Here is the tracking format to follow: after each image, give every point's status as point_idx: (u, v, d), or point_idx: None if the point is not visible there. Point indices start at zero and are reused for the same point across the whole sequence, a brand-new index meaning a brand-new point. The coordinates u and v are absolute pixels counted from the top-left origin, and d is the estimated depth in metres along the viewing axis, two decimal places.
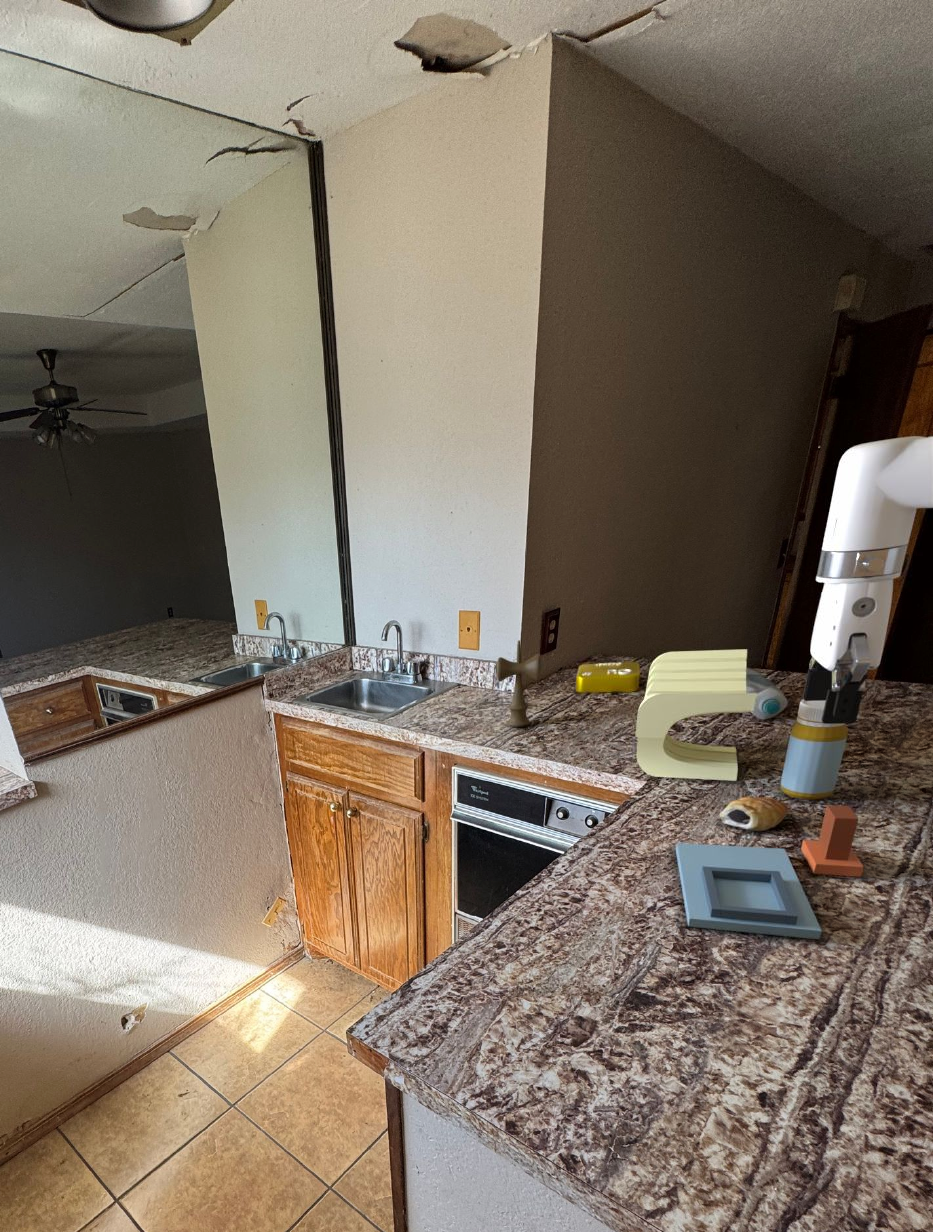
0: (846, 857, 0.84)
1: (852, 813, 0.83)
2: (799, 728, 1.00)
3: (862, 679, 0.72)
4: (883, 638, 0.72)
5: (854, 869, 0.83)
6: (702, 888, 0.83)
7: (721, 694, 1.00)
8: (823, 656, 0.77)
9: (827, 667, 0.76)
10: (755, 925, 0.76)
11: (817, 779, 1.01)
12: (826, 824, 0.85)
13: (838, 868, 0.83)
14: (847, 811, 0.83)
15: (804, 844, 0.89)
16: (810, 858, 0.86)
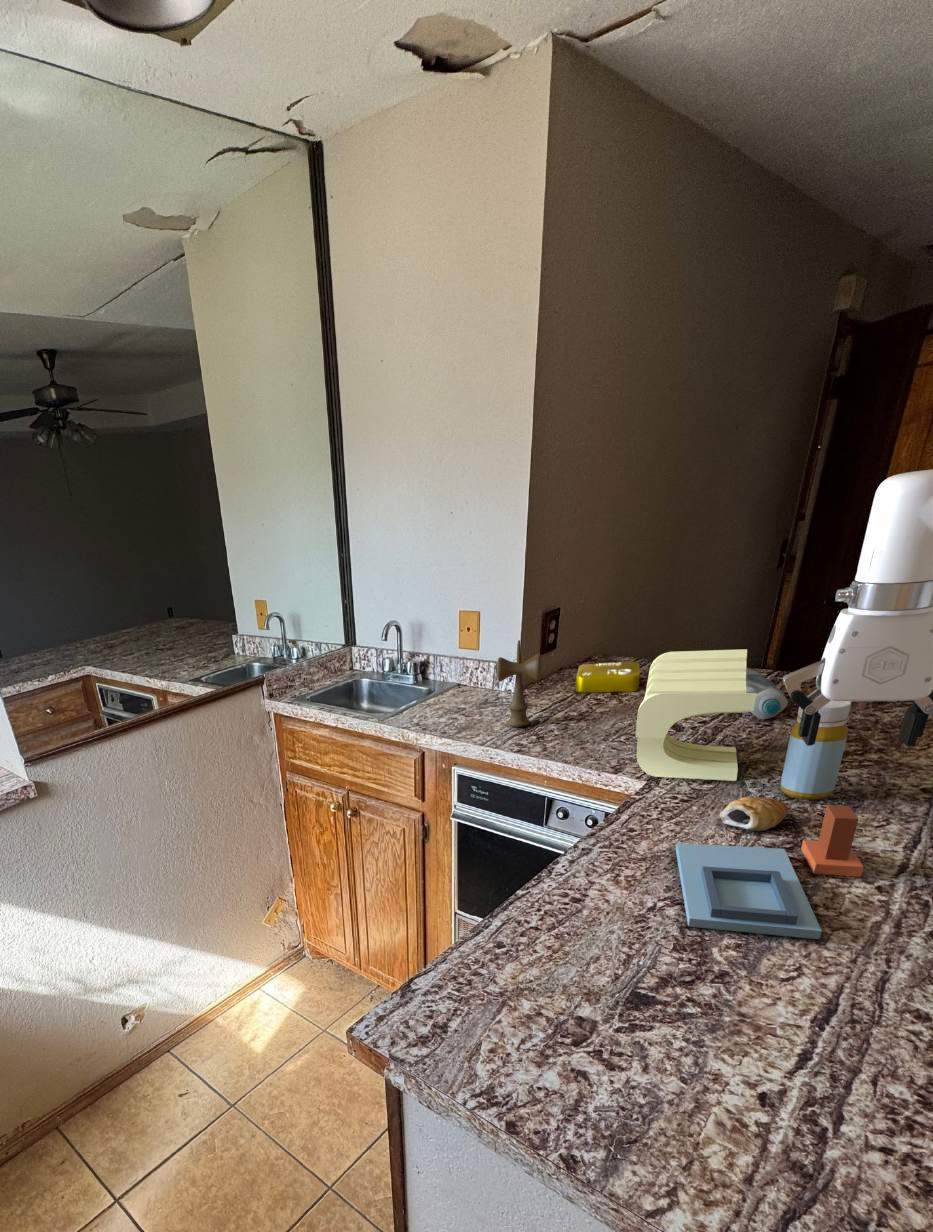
0: (846, 857, 0.84)
1: (852, 813, 0.83)
2: None
3: (791, 697, 0.80)
4: (830, 669, 0.75)
5: (854, 869, 0.83)
6: (702, 888, 0.83)
7: (721, 694, 1.00)
8: None
9: None
10: (755, 925, 0.76)
11: (817, 779, 1.01)
12: (826, 824, 0.85)
13: (838, 868, 0.83)
14: (847, 811, 0.83)
15: (804, 844, 0.89)
16: (810, 858, 0.86)
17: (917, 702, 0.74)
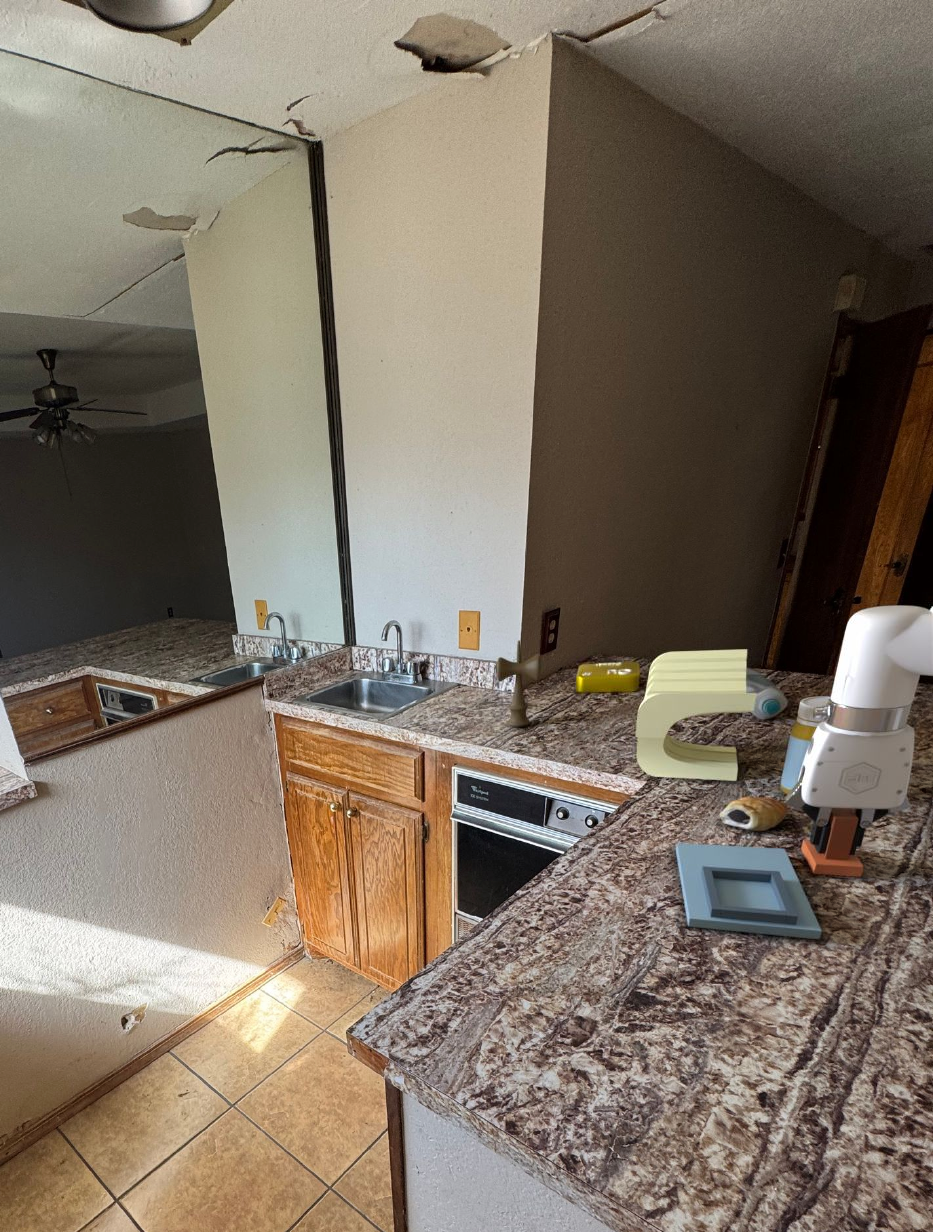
0: (846, 857, 0.84)
1: (852, 813, 0.83)
2: (799, 728, 1.00)
3: (803, 810, 0.85)
4: (809, 779, 0.81)
5: (854, 869, 0.83)
6: (702, 888, 0.83)
7: (721, 694, 1.00)
8: None
9: None
10: (755, 925, 0.76)
11: None
12: None
13: (838, 868, 0.83)
14: (847, 811, 0.83)
15: (804, 844, 0.89)
16: (810, 858, 0.86)
17: (863, 814, 0.82)
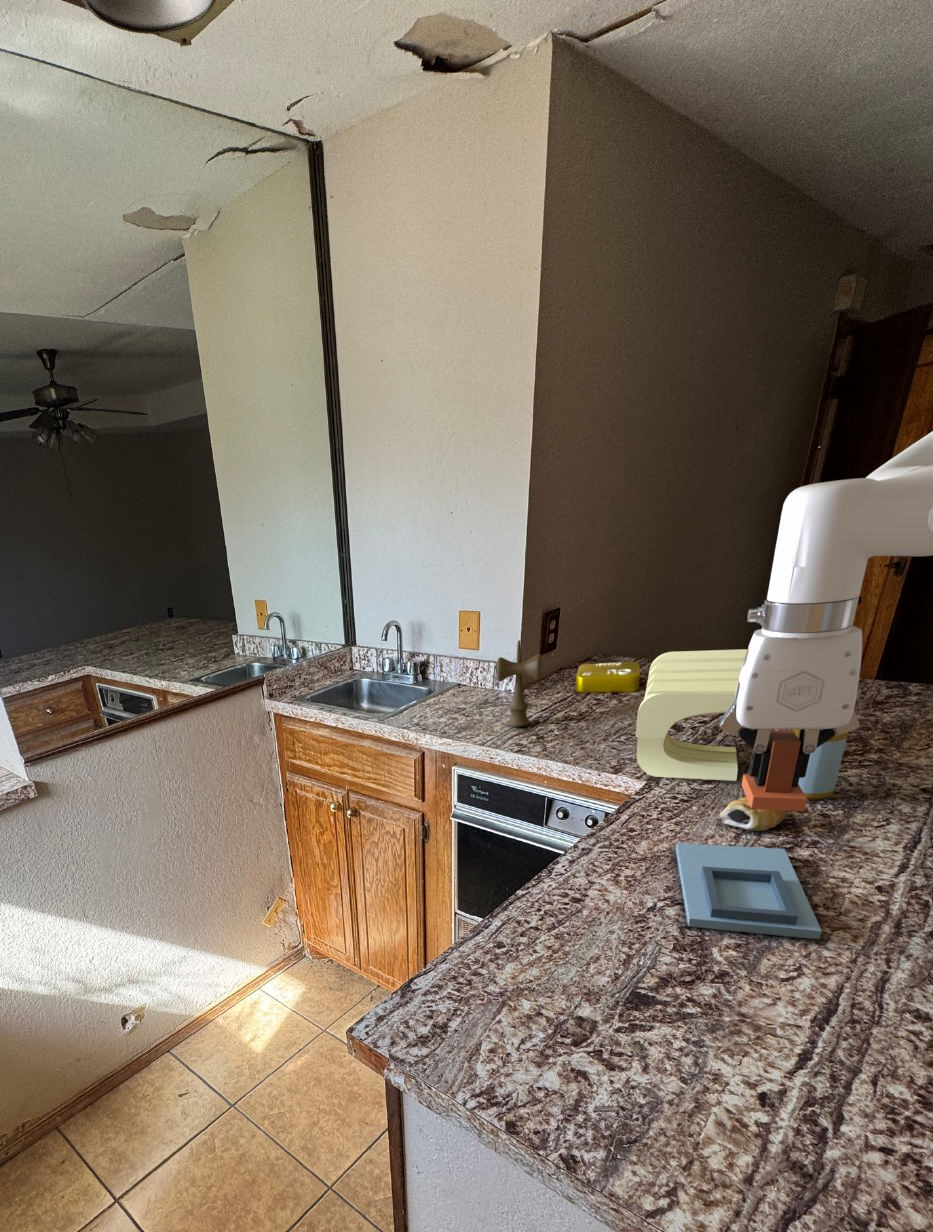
0: (788, 789, 0.73)
1: (795, 737, 0.71)
2: None
3: (739, 735, 0.73)
4: (743, 695, 0.70)
5: (796, 802, 0.71)
6: (702, 888, 0.83)
7: (721, 694, 1.00)
8: None
9: None
10: (755, 925, 0.76)
11: (817, 779, 1.01)
12: None
13: (778, 801, 0.72)
14: (789, 735, 0.72)
15: (744, 778, 0.78)
16: (749, 792, 0.75)
17: (806, 736, 0.70)
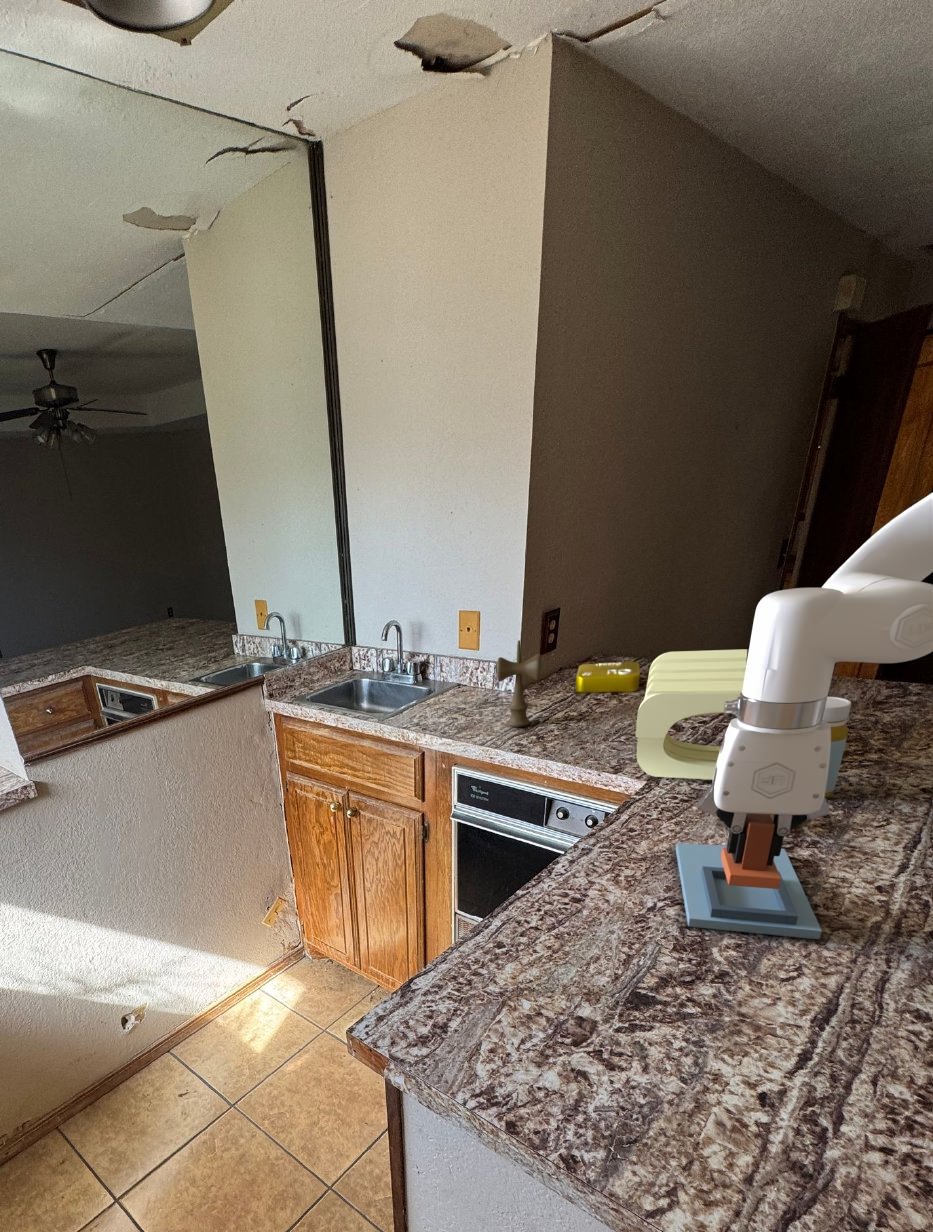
0: (763, 867, 0.76)
1: (769, 819, 0.75)
2: None
3: (717, 815, 0.77)
4: (720, 781, 0.73)
5: (771, 881, 0.75)
6: (702, 888, 0.83)
7: (721, 694, 1.00)
8: None
9: None
10: (755, 925, 0.76)
11: None
12: None
13: (754, 879, 0.76)
14: (764, 817, 0.76)
15: (723, 852, 0.81)
16: (726, 868, 0.79)
17: (779, 820, 0.74)
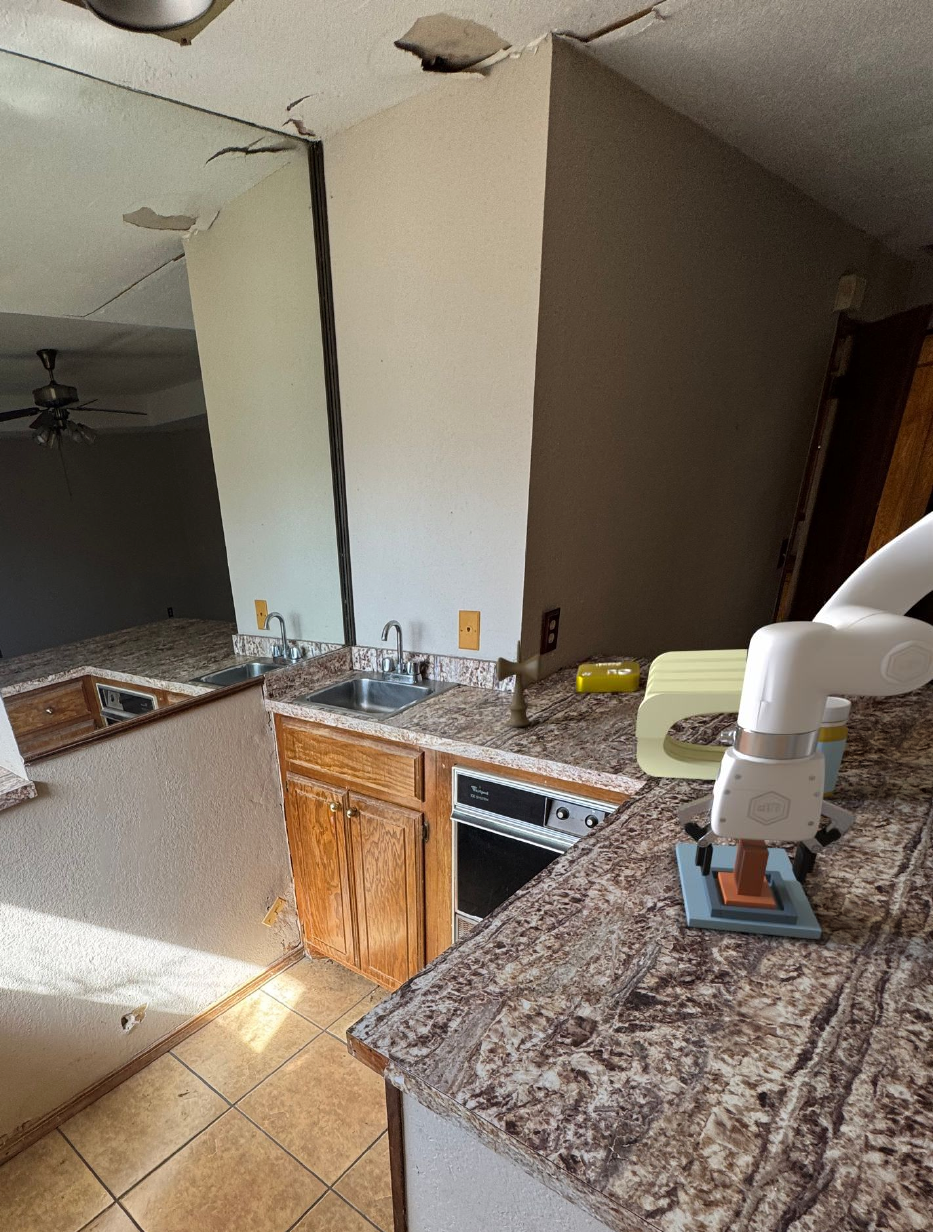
0: (759, 893, 0.78)
1: (764, 846, 0.77)
2: None
3: (684, 829, 0.79)
4: (717, 808, 0.75)
5: (766, 906, 0.77)
6: (702, 888, 0.83)
7: (721, 694, 1.00)
8: None
9: None
10: (755, 925, 0.76)
11: None
12: (738, 857, 0.79)
13: (749, 905, 0.77)
14: (759, 843, 0.77)
15: (719, 877, 0.83)
16: (722, 893, 0.80)
17: (804, 842, 0.74)
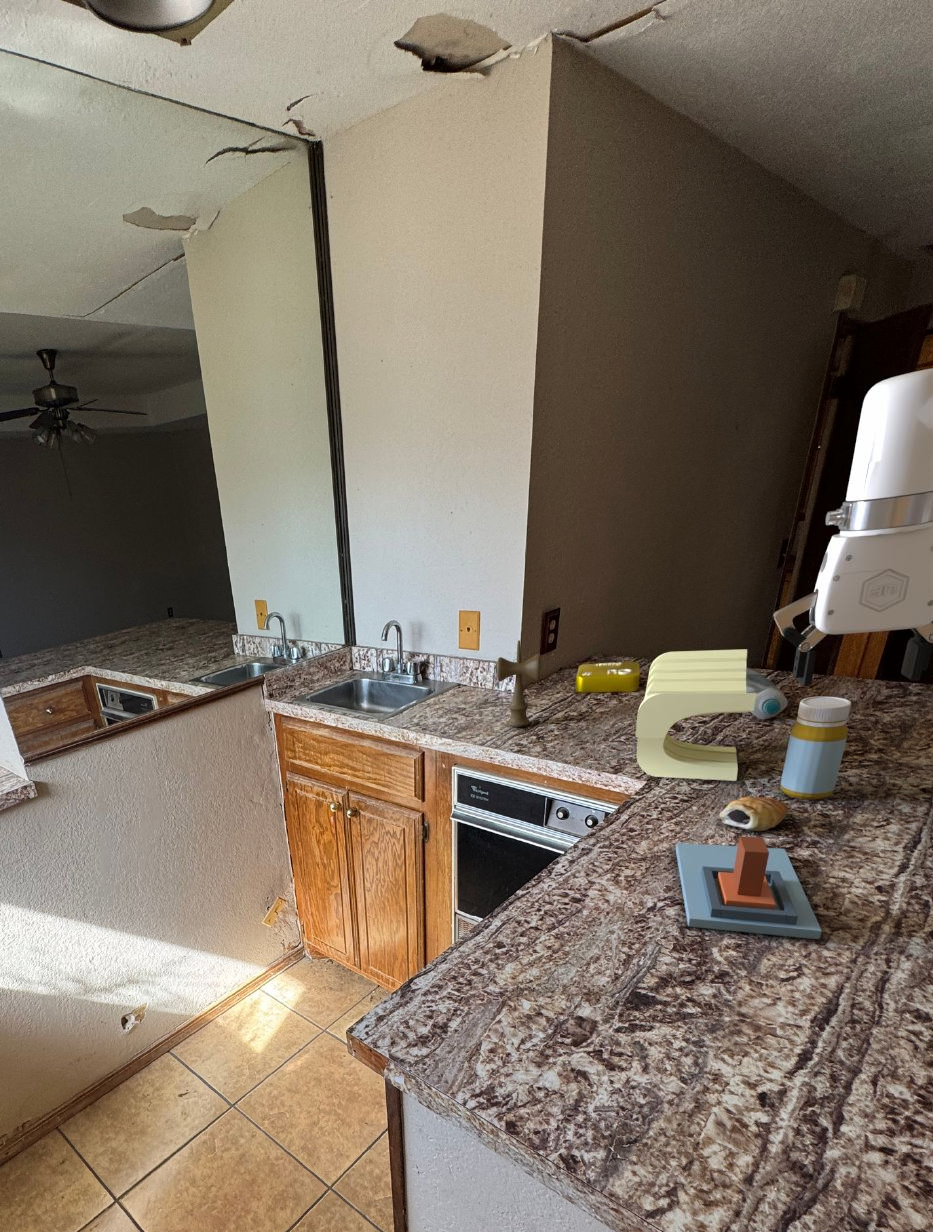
0: (759, 893, 0.78)
1: (764, 846, 0.77)
2: (799, 728, 1.00)
3: (783, 635, 0.74)
4: (824, 599, 0.70)
5: (766, 906, 0.77)
6: (702, 888, 0.83)
7: (721, 694, 1.00)
8: None
9: None
10: (755, 925, 0.76)
11: (817, 779, 1.01)
12: (738, 857, 0.79)
13: (749, 905, 0.77)
14: (759, 843, 0.77)
15: (719, 877, 0.83)
16: (722, 893, 0.80)
17: (920, 630, 0.69)
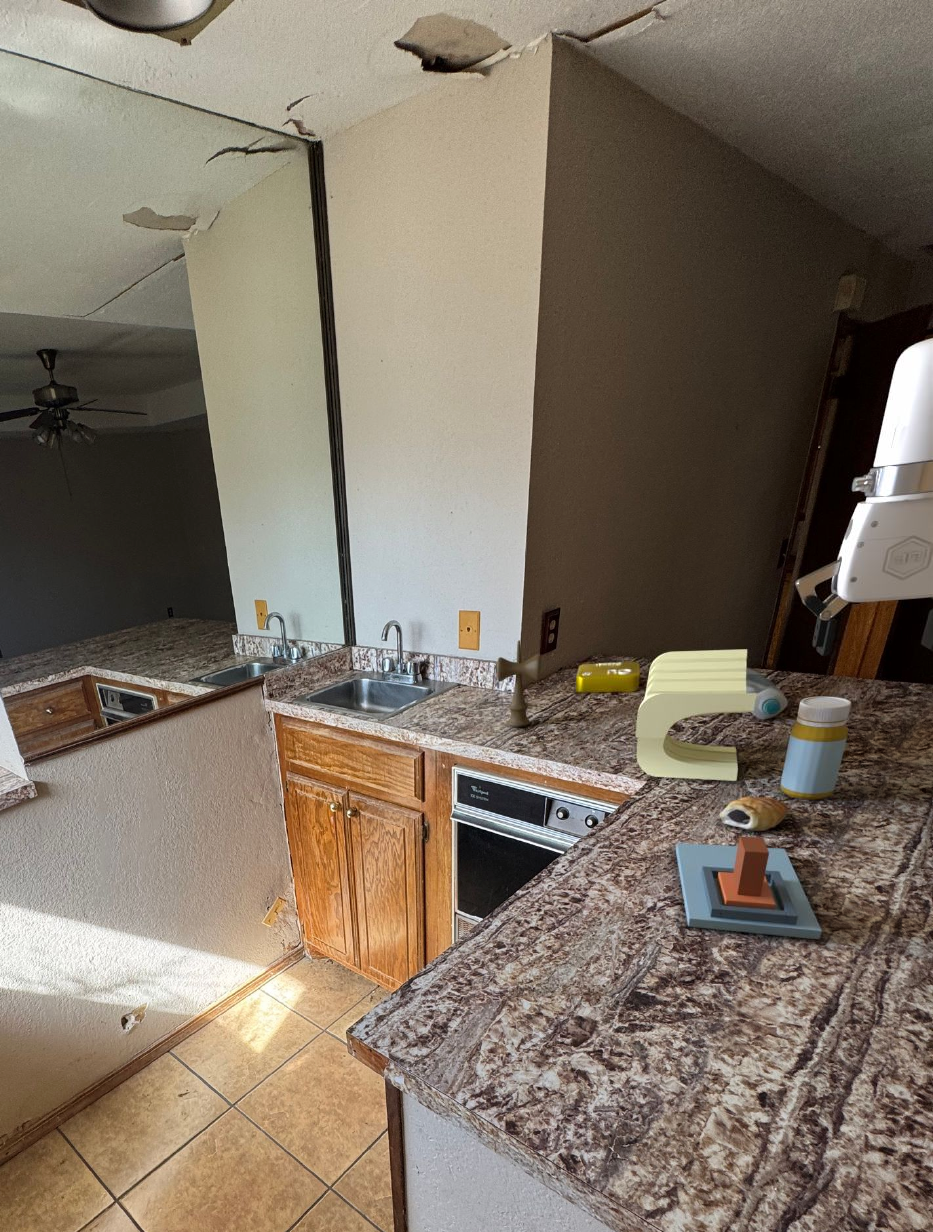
0: (759, 893, 0.78)
1: (764, 846, 0.77)
2: (799, 728, 1.00)
3: (805, 603, 0.74)
4: (847, 566, 0.70)
5: (766, 906, 0.77)
6: (702, 888, 0.83)
7: (721, 694, 1.00)
8: None
9: None
10: (755, 925, 0.76)
11: (817, 779, 1.01)
12: (738, 857, 0.79)
13: (749, 905, 0.77)
14: (759, 843, 0.77)
15: (719, 877, 0.83)
16: (722, 893, 0.80)
17: None
